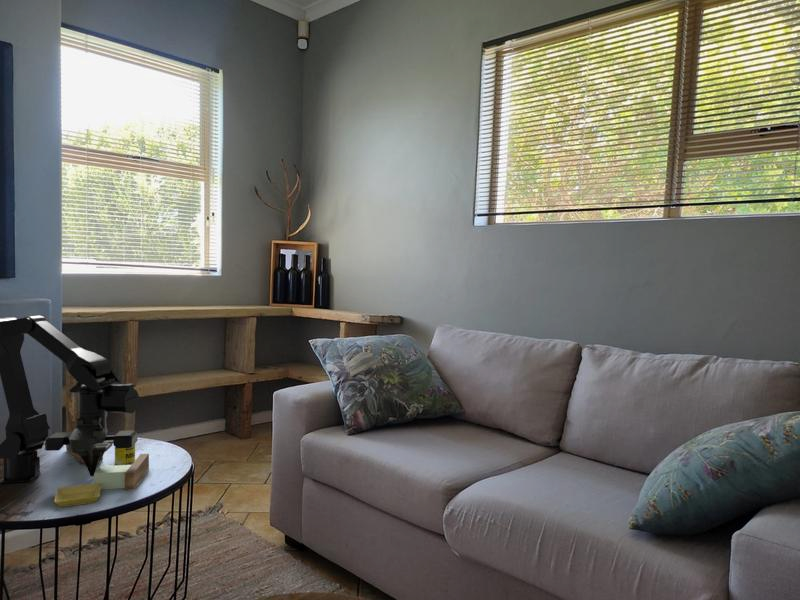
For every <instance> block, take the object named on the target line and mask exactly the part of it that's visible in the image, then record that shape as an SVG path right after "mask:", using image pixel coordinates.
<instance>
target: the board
mask: <svg viewBox="0 0 800 600" xmlns="http://www.w3.org/2000/svg"><path fill="white" fill-rule="evenodd" d="M149 466H150V453H140V454H139V455H138V456H137V457H136V458H135V461H134V463H133V464H132V465H131V466H130V467H129V469H128V470H127V471H126V472H125V488H124V490H125V491H129V489H134V490H135V489H136V488H135V487H138V485H139V483H140V482H141V481H140V480H142V479H143V477H145V475H146V474H145V473H147V472H148V471H149V469H150V467H149ZM147 470H148V471H147ZM137 484H138V485H137Z"/></svg>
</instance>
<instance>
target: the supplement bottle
mask: <svg viewBox="0 0 800 600" xmlns="http://www.w3.org/2000/svg"><path fill="white" fill-rule="evenodd" d="M135 460H136V443H135V444H134V445H133V446H132V447H131V448H116V447H115V446H114V465H132V464H133V463H134V461H135Z"/></svg>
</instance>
